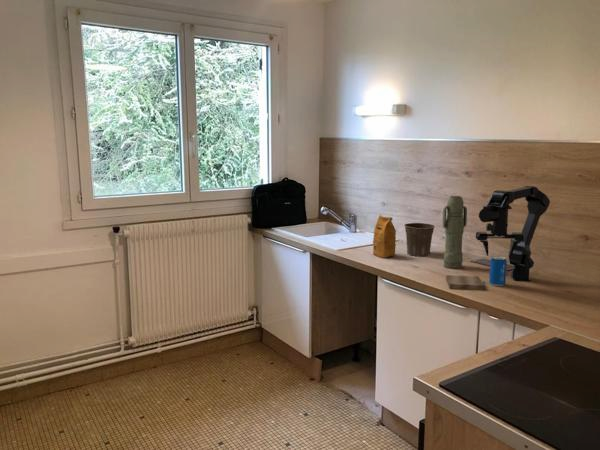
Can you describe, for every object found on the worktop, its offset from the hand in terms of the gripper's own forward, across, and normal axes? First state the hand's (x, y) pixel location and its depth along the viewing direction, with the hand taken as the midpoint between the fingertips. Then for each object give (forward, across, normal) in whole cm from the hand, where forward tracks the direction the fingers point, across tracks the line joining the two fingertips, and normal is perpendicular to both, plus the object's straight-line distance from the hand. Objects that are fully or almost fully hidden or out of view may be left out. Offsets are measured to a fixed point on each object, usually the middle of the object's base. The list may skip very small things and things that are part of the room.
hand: (498, 255), depth 215 cm
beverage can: (+13, 0, 0) cm, 13 cm away
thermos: (+13, +15, -29) cm, 35 cm away
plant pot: (+13, +30, -54) cm, 64 cm away
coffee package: (+13, +49, -48) cm, 70 cm away
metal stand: (+13, +14, +2) cm, 19 cm away
